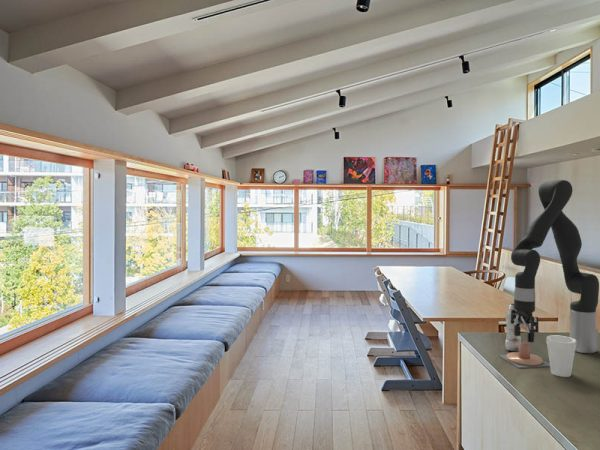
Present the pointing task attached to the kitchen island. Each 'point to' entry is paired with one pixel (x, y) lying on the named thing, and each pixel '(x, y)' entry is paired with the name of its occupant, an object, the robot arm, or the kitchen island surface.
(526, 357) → the lid
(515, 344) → the plastic bottle
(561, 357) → the foam cup
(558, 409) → the kitchen island surface
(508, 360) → the mat
